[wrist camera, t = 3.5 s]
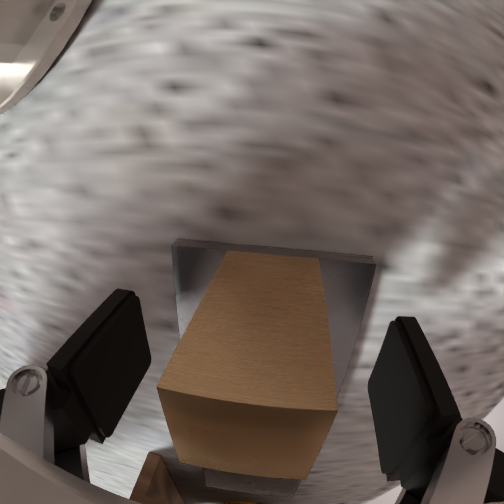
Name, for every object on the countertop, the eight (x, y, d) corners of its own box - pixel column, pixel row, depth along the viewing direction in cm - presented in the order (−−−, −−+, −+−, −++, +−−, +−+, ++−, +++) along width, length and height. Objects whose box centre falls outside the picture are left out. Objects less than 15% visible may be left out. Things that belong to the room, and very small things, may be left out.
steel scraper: (181, 235, 11) (67, 359, 5) (370, 252, 10) (441, 405, 4) (209, 476, 19) (190, 544, 13) (293, 487, 19) (286, 557, 12)
